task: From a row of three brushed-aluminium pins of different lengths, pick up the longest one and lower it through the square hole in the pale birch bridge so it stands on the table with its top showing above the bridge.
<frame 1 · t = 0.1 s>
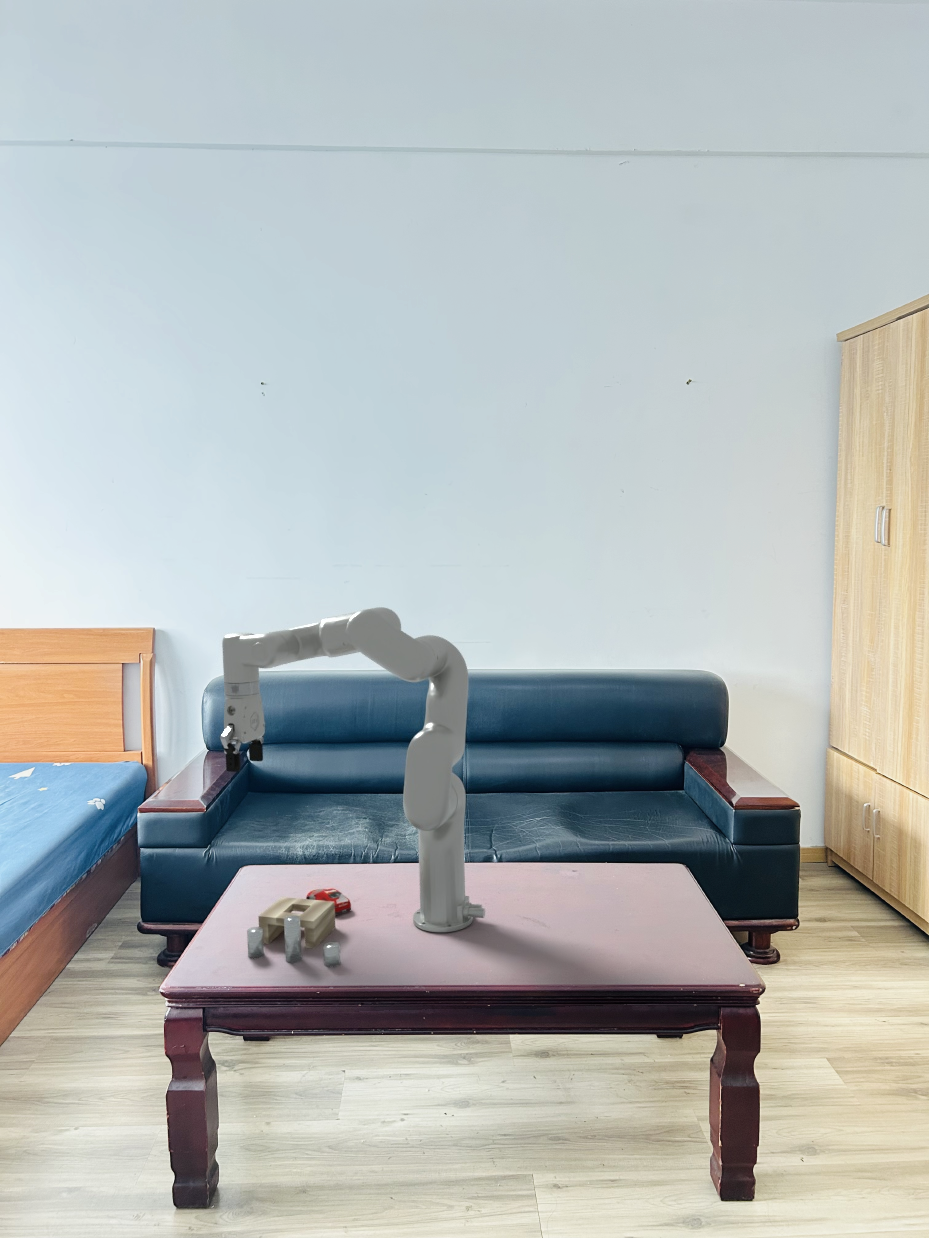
hand: (245, 765, 192), 31 cm above the table, tool pointing down, fingers open, 9 cm apart
race car: (328, 908, 191), on the table
medium pin: (256, 954, 168), on the table
bridge: (298, 934, 177), on the table
short pin: (332, 963, 164), on the table
long pin: (293, 958, 166), on the table
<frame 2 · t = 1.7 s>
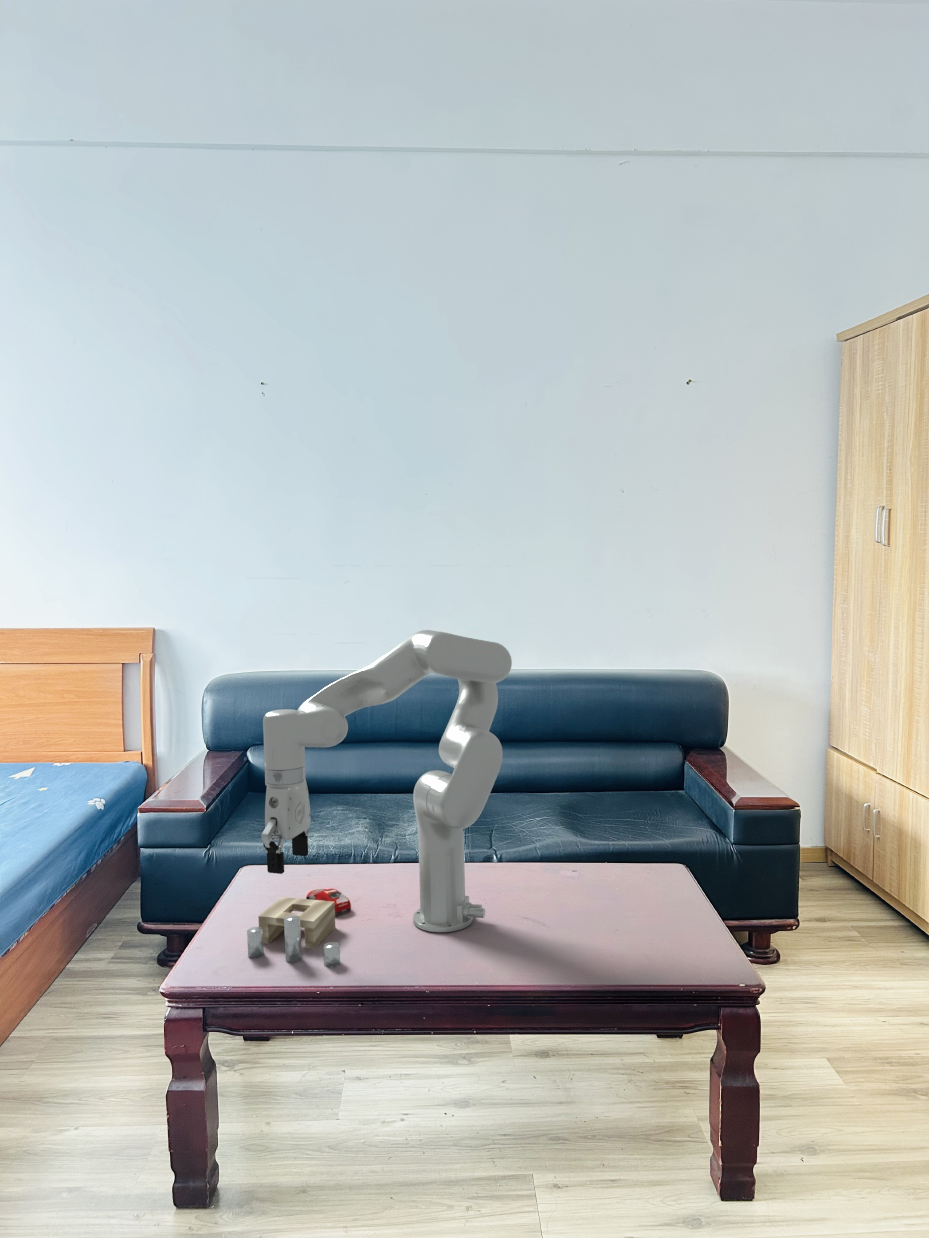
hand: (288, 863, 165), 19 cm above the table, tool pointing down, fingers open, 9 cm apart
nothing on the table moved.
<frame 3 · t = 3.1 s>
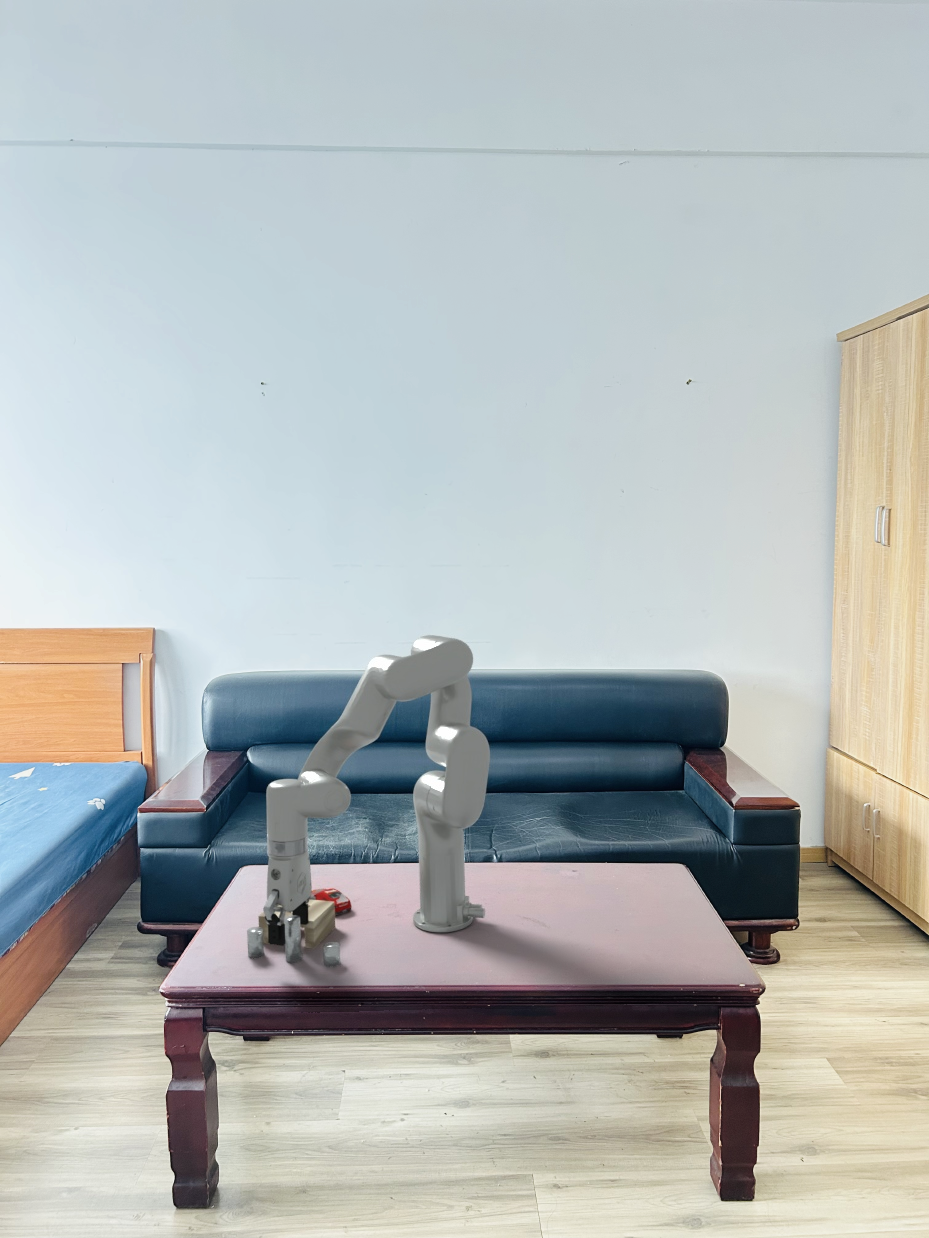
hand: (289, 933, 165), 5 cm above the table, tool pointing down, fingers open, 9 cm apart
nothing on the table moved.
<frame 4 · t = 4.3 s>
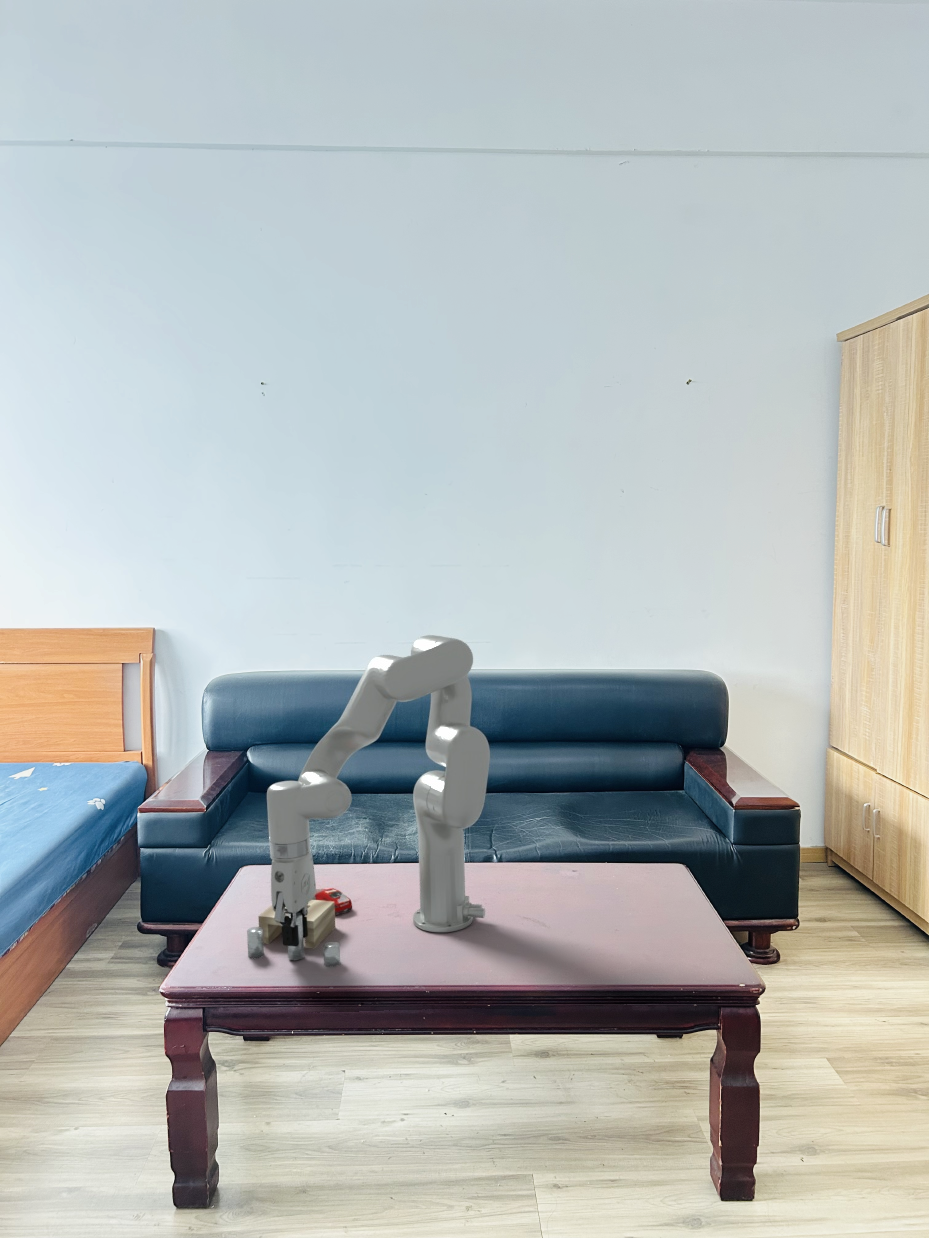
hand: (295, 939, 166), 4 cm above the table, tool pointing down, fingers closed on long pin, 3 cm apart
long pin: (296, 956, 166), on the table, touching gripper
everything else where it was.
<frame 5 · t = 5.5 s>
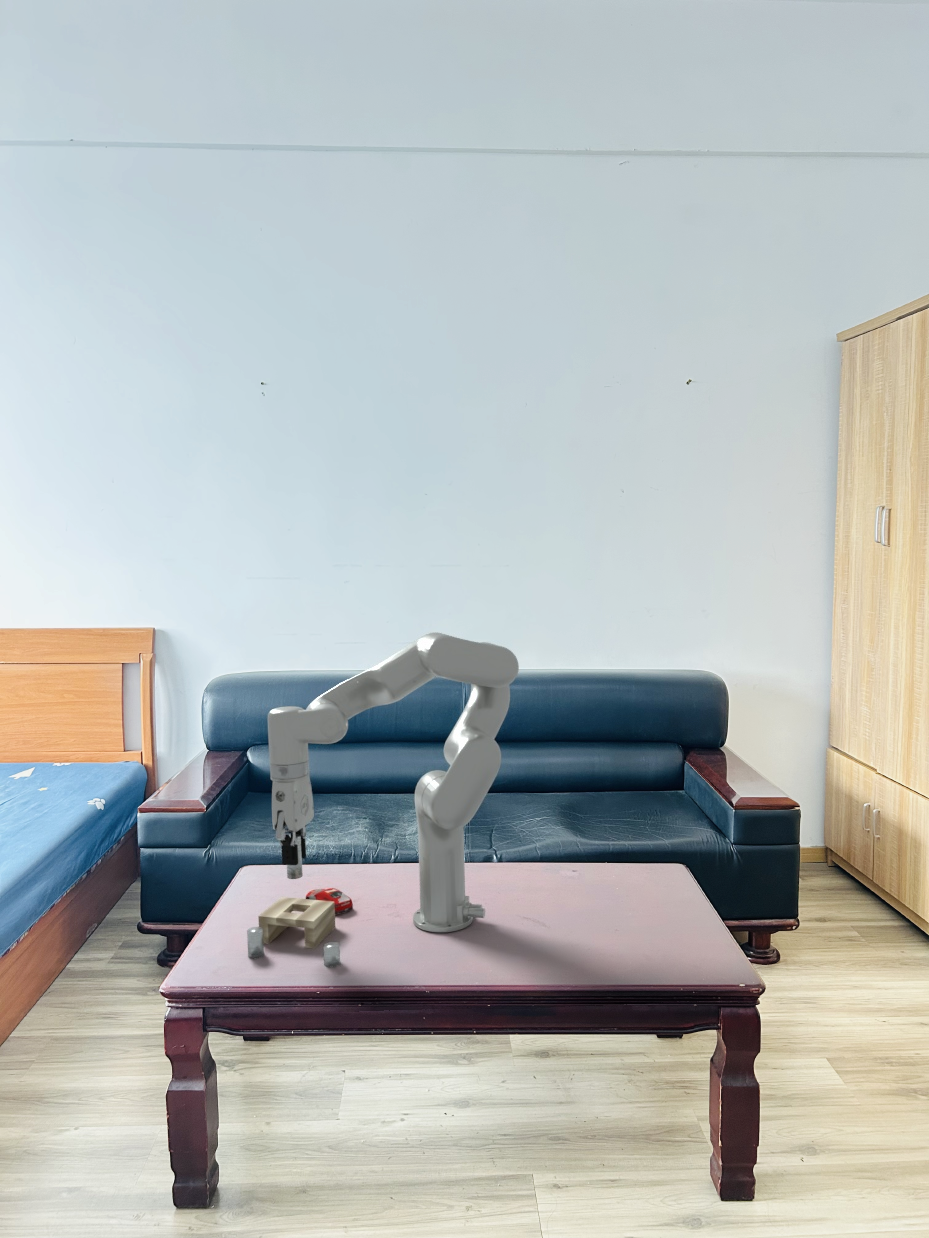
hand: (294, 860, 172), 17 cm above the table, tool pointing down, fingers closed on long pin, 3 cm apart
long pin: (294, 876, 172), point 14 cm above the table, touching gripper
everything else where it was.
when the fingers open (7 cm above the table, at t = 7.4 s): long pin drops 3 cm, on the table.
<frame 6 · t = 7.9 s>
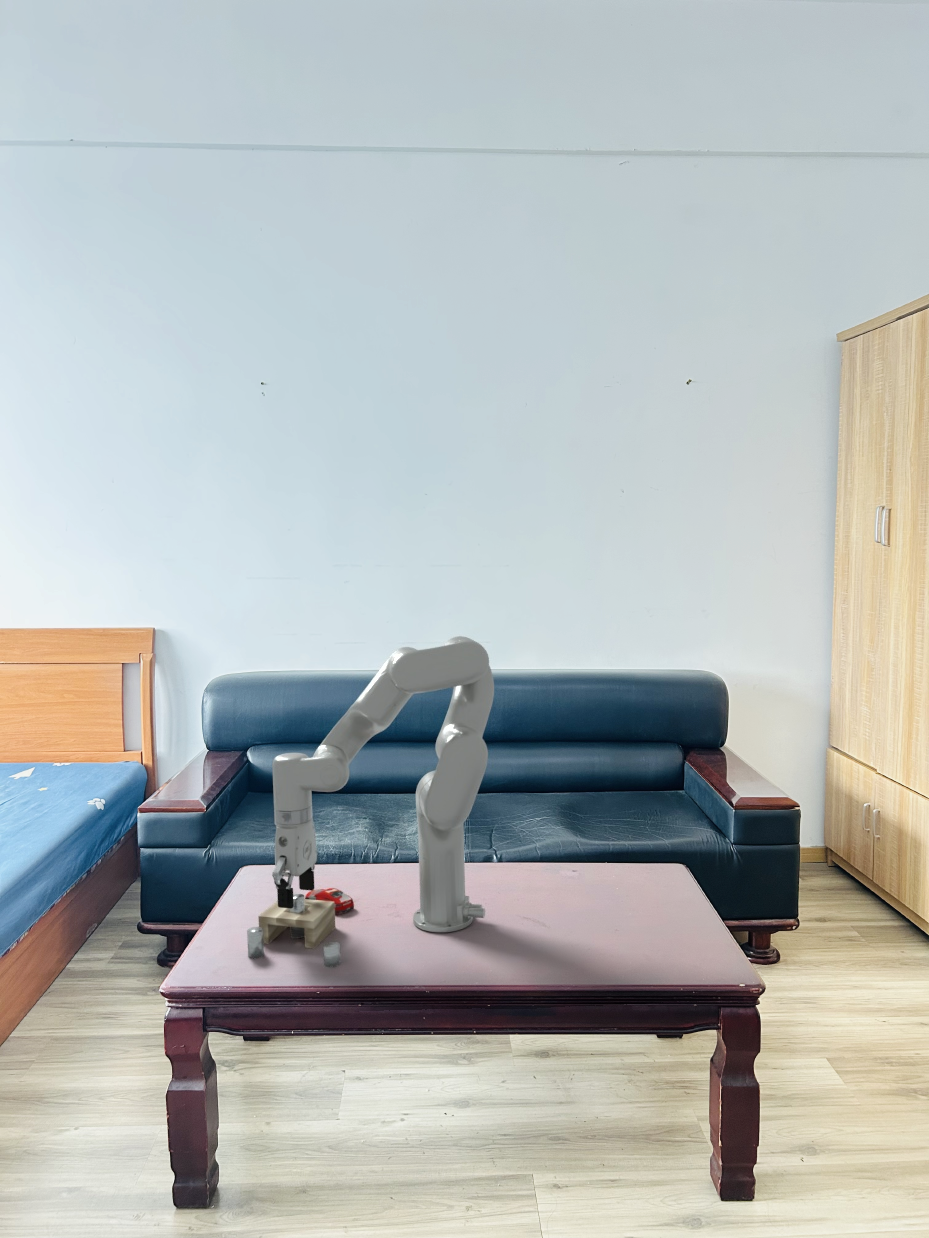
hand: (296, 898, 176), 8 cm above the table, tool pointing down, fingers open, 9 cm apart
long pin: (298, 934, 177), on the table
everything else where it was.
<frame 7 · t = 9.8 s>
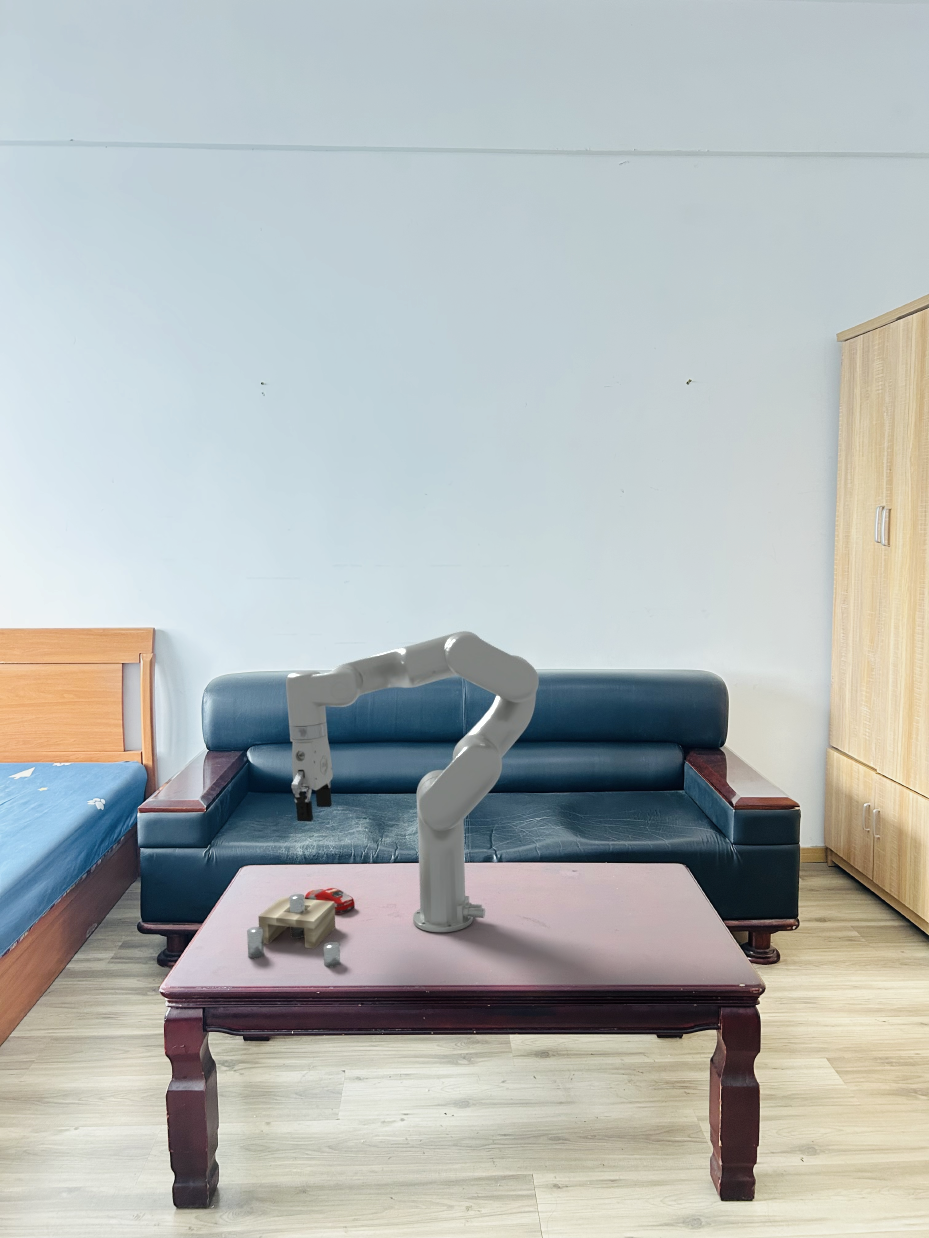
hand: (315, 813, 179), 24 cm above the table, tool pointing down, fingers open, 9 cm apart
nothing on the table moved.
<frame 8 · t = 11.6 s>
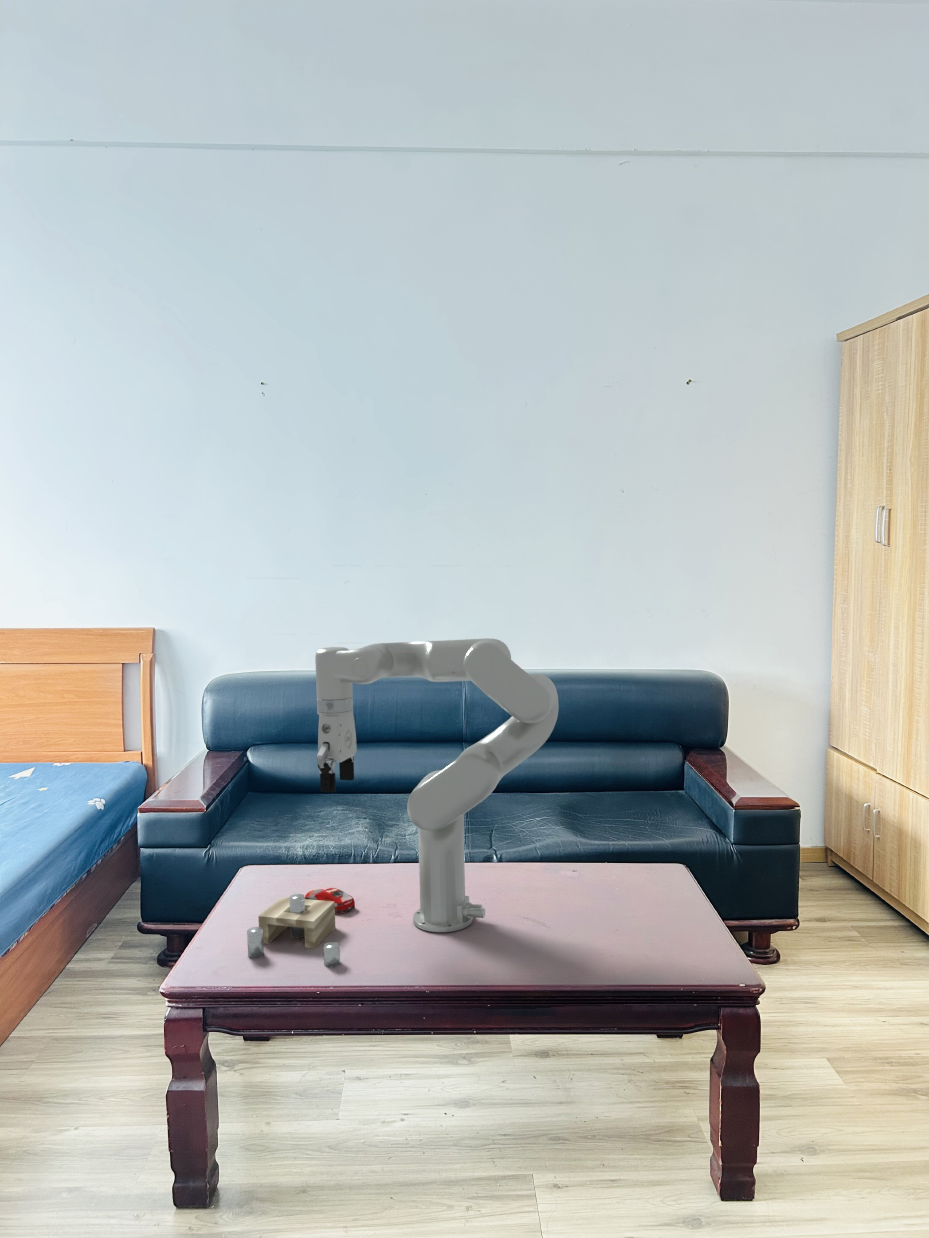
hand: (337, 785, 184), 28 cm above the table, tool pointing down, fingers open, 9 cm apart
nothing on the table moved.
at the end: long pin 0.1 cm off-centre on the bridge, point 0.0 cm above the bridge's base; long pin tilted 0°; the gripper is holding nothing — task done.
